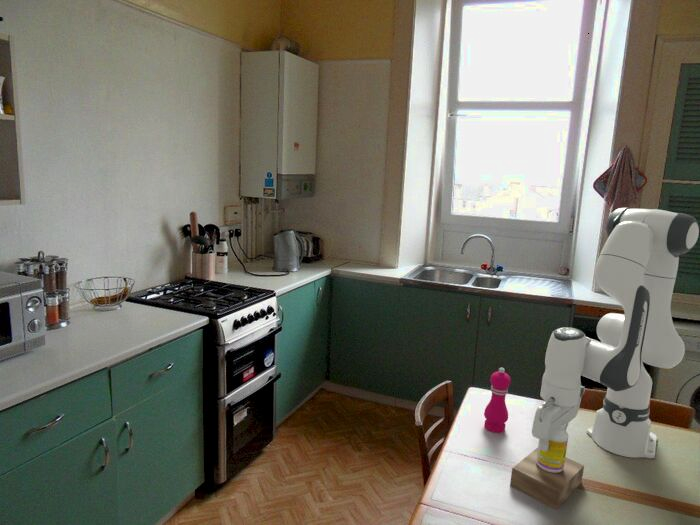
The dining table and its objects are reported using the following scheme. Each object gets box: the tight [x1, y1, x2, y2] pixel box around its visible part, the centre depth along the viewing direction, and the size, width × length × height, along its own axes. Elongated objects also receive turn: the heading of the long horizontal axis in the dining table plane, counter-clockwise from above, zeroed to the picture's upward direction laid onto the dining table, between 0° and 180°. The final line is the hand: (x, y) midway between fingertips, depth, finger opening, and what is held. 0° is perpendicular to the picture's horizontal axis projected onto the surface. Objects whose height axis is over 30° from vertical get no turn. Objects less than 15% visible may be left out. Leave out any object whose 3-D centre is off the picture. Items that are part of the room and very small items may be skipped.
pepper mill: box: [483, 367, 512, 434], centre depth 156 cm, size 7×7×20 cm
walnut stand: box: [509, 447, 585, 510], centre depth 130 cm, size 16×12×5 cm
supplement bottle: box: [536, 421, 569, 473], centre depth 128 cm, size 7×7×13 cm
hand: (552, 443), depth 128 cm, fingers open, 8 cm apart
